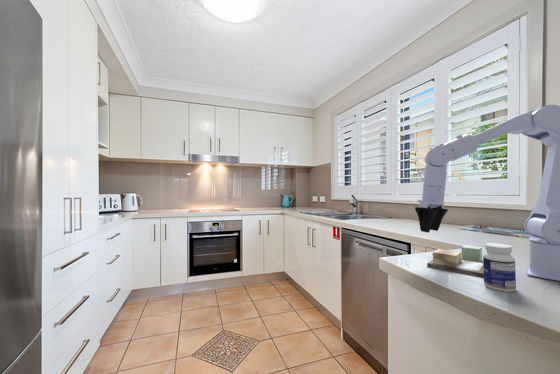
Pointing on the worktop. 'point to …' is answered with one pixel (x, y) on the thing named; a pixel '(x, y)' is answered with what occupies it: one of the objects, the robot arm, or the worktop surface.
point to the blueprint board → (481, 273)
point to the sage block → (472, 253)
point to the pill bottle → (499, 267)
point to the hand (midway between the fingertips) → (429, 231)
